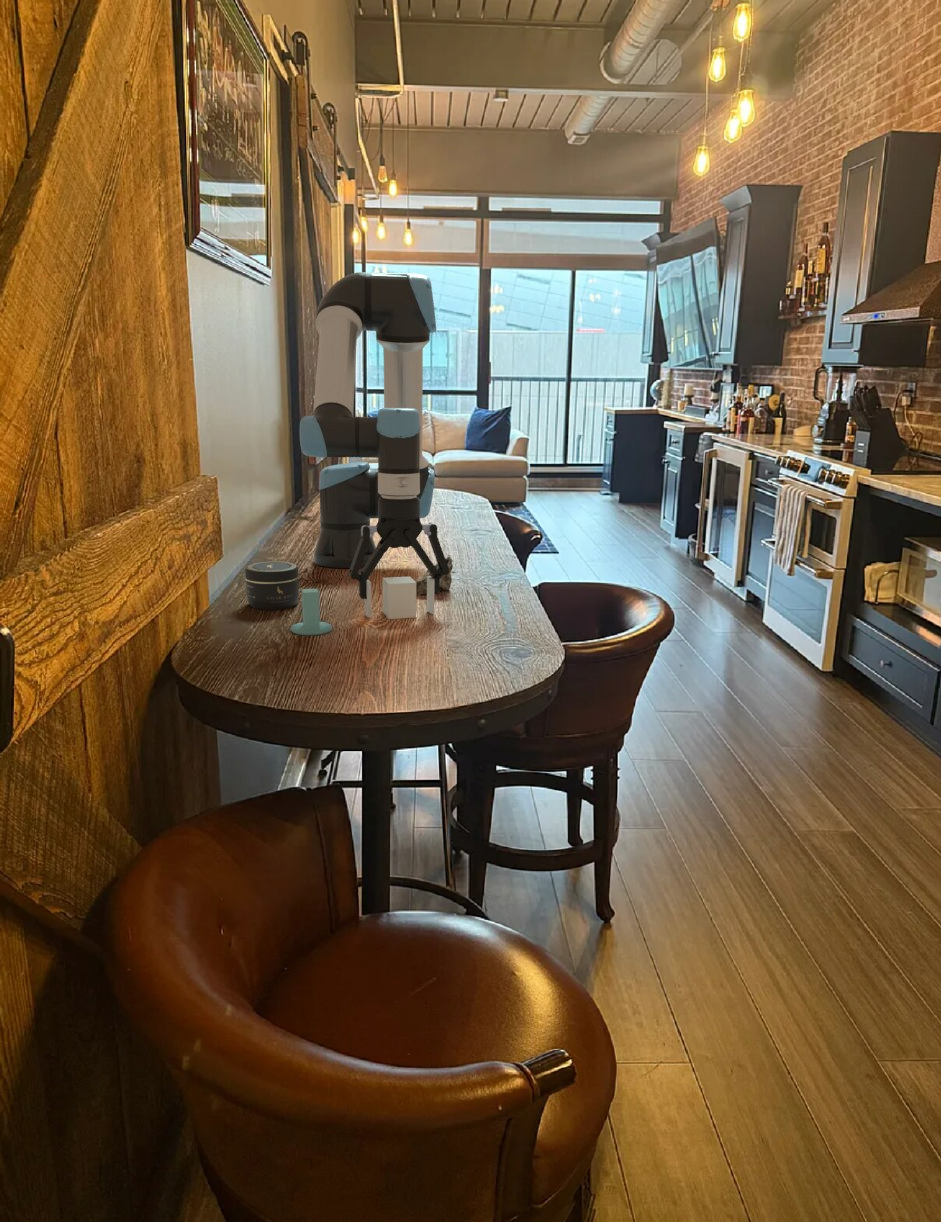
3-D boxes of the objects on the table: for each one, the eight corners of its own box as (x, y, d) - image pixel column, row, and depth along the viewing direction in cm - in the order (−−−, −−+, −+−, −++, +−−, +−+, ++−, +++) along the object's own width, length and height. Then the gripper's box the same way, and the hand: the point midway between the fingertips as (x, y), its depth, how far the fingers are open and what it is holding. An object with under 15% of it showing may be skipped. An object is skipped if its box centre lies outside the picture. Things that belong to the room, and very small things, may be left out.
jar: (256, 614, 158) (254, 573, 156) (239, 602, 167) (237, 563, 165) (307, 607, 164) (306, 568, 162) (288, 596, 172) (287, 558, 170)
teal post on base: (289, 625, 151) (287, 587, 149) (328, 622, 153) (327, 585, 151) (293, 636, 145) (291, 596, 143) (334, 633, 147) (333, 594, 145)
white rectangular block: (382, 611, 161) (382, 577, 159) (409, 610, 163) (409, 576, 161) (388, 619, 156) (388, 584, 155) (416, 617, 158) (416, 582, 156)
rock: (447, 593, 170) (465, 556, 176) (415, 577, 170) (433, 540, 175) (437, 613, 178) (455, 577, 183) (406, 598, 178) (424, 562, 183)
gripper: (336, 500, 147) (339, 623, 152) (467, 497, 154) (466, 614, 159) (330, 494, 154) (333, 612, 159) (456, 492, 161) (454, 604, 166)
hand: (399, 613), depth 159 cm, fingers open, 11 cm apart
